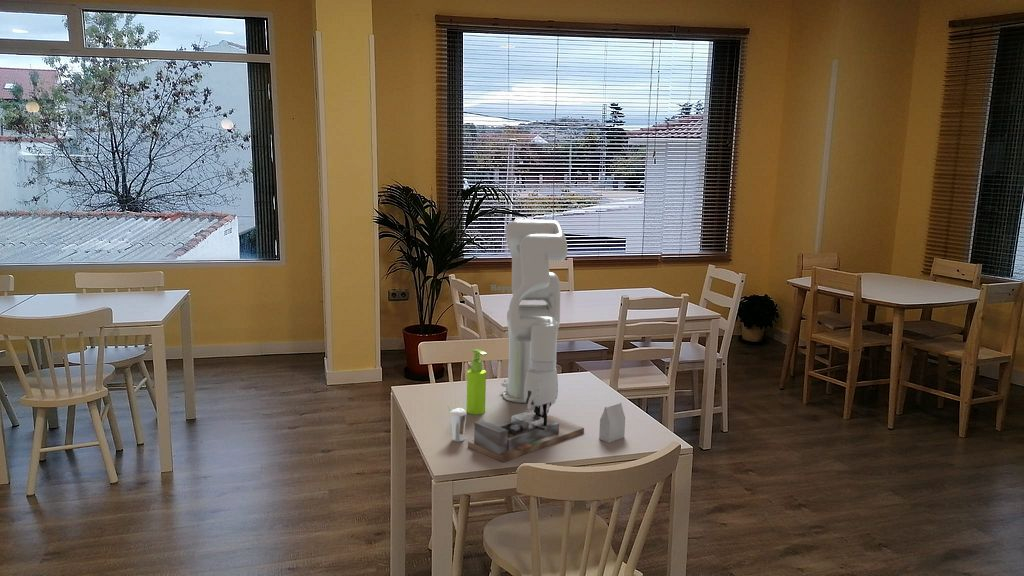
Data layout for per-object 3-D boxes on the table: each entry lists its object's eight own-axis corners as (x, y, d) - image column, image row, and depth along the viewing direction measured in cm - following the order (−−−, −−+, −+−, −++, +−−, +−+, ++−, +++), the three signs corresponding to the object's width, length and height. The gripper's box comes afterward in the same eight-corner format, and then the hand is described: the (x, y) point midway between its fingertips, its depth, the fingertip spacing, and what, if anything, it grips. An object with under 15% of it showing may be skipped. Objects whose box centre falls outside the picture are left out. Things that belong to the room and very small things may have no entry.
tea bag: (624, 437, 215) (626, 404, 213) (608, 442, 210) (610, 409, 209) (614, 433, 217) (616, 401, 216) (599, 438, 213) (600, 405, 211)
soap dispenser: (476, 416, 229) (477, 354, 225) (462, 410, 234) (463, 349, 230) (491, 412, 232) (492, 351, 229) (477, 406, 237) (478, 346, 234)
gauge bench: (549, 419, 227) (550, 396, 226) (583, 432, 217) (585, 408, 216) (467, 446, 204) (468, 420, 203) (502, 462, 195) (503, 435, 193)
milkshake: (448, 436, 212) (448, 403, 210) (466, 437, 212) (467, 403, 210) (446, 442, 207) (446, 408, 205) (465, 443, 207) (465, 409, 205)
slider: (525, 428, 215) (526, 411, 214) (551, 437, 208) (551, 420, 207) (503, 435, 209) (503, 418, 208) (528, 445, 202) (529, 428, 201)
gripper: (550, 357, 219) (548, 417, 222) (515, 366, 208) (513, 428, 211) (569, 363, 213) (567, 423, 217) (534, 372, 203) (532, 436, 206)
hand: (540, 426), depth 214 cm, fingers closed
